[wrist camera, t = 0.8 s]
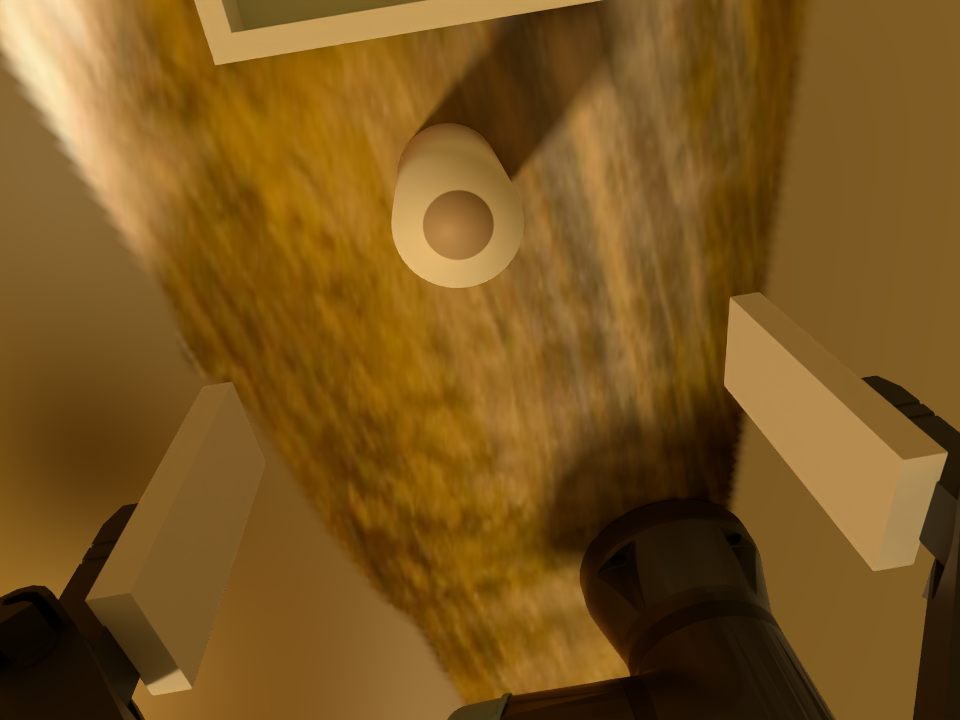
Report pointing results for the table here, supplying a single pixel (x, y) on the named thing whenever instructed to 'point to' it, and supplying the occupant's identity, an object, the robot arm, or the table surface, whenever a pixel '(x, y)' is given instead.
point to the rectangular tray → (337, 21)
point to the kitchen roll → (455, 208)
